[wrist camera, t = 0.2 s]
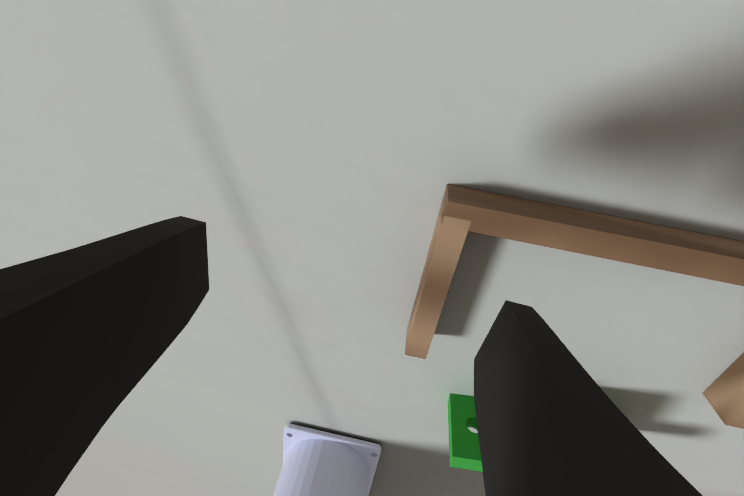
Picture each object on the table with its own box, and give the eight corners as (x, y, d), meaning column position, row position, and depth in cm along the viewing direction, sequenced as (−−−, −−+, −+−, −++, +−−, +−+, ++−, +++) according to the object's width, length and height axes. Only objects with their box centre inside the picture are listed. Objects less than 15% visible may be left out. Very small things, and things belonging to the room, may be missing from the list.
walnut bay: (723, 397, 21) (747, 429, 20) (407, 329, 22) (404, 354, 21) (866, 265, 16) (915, 293, 15) (447, 184, 17) (448, 201, 16)
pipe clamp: (638, 388, 22) (681, 463, 19) (615, 424, 24) (650, 499, 21) (454, 365, 24) (458, 432, 20) (447, 401, 26) (449, 468, 22)
